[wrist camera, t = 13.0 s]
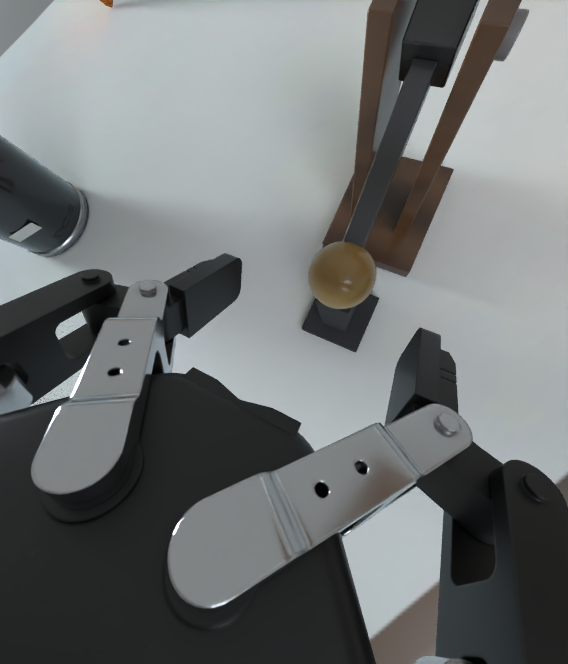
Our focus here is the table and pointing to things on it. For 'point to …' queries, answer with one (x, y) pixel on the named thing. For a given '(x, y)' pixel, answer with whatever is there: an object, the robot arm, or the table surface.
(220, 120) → the table surface
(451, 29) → the lever with ball knob
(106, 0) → the carrot
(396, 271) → the brown wooden upright frame
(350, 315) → the stop post
